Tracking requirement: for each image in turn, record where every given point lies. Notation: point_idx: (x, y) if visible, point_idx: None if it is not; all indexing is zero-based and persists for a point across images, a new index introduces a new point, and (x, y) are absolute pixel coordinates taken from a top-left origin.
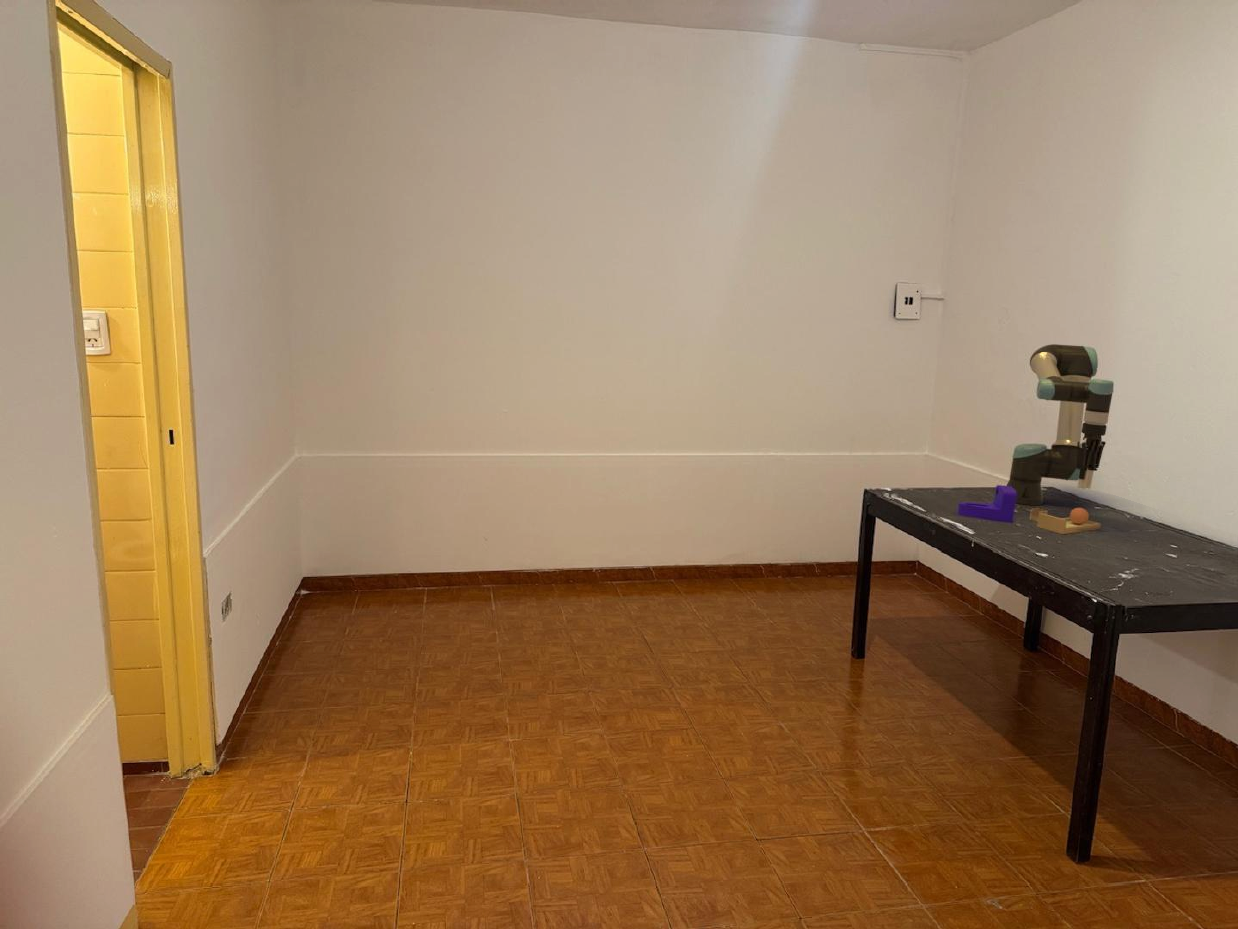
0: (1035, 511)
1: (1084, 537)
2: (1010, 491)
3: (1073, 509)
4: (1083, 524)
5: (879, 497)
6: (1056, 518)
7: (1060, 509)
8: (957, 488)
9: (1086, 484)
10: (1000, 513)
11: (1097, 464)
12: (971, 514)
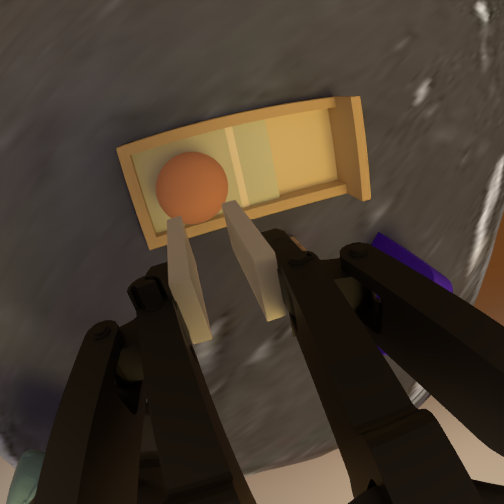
0: None
1: (286, 50)
2: (443, 286)
3: (214, 211)
4: None
5: None
6: (363, 129)
7: None
8: (243, 473)
9: (189, 247)
10: (412, 253)
11: (108, 348)
12: None
